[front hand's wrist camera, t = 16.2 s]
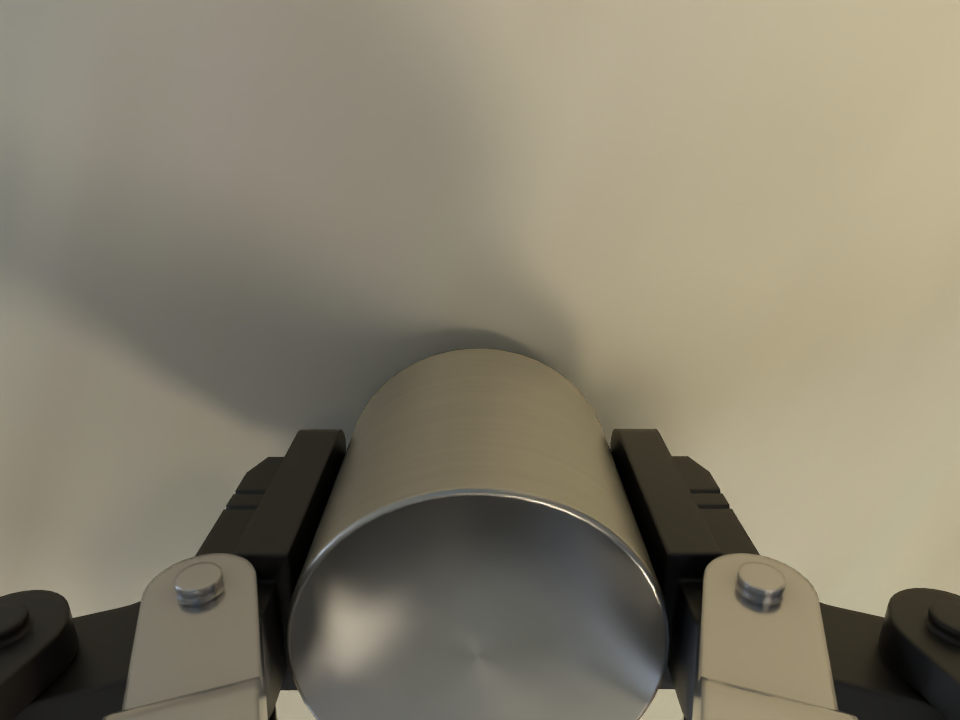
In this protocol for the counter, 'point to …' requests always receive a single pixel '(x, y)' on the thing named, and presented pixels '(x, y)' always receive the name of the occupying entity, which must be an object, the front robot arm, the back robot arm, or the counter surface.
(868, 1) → the counter surface
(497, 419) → the can
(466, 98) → the counter surface
